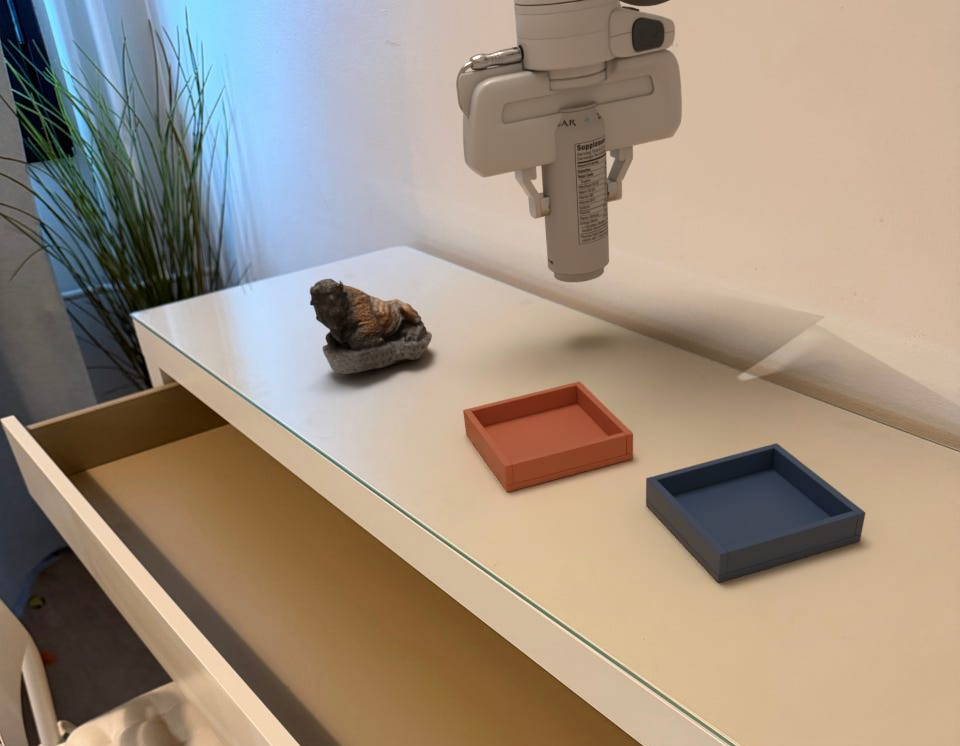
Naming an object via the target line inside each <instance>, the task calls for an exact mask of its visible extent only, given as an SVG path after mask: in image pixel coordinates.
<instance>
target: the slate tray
mask: <svg viewBox="0 0 960 746" xmlns="http://www.w3.org/2000/svg"><path fill="white" fill-rule="evenodd" d="M645 506H647V508H648V509H649V510H650V511H651V512H652V513H653V514H654V515H655V517H657V518H658V519H659V521H661V523H662V524H663V525H664V526H665V527H666V528H667V529H668V530H669V531H670V532H671V533H672V534H673V536H674V537H675V538H676V539H677V540H678V541H679V542H680V543H681V544H682V546H684V547H685V548H686V549H687V551H688V552H689V553H690V554H691V555H692V556H693V557H694V559H696V560H697V562H698V563H699V564H700V565H701V566H702V567H703V568H704V569H705V570H706V571H707V573H709V575H710V576H711V577H713V579H714V580H715V581H716V582H717V583H722V582H726V581H730V580H732V579H737V578H740V577H743V576H746V575H749V574H753V573H757V572H760V571H763V570H766V569H769V568H770V569H771V568H773V567H776V566H780V565H783V564H786V563H790V562H793V561H796V560H800V559H803V558H807V557H810V556H814V555H817V554H820V553H824V552H828V551H830V550H834V549H837V548H841V547H844V546H847V545H848V546H849V545H851V544H854V543H859V542H860V541H861V538H862V533H863V528H864V523H865V517H866V512H865V511H864V509H862V508H861V507H859V506H858V505H857V504H855V503H854V502H853V501H851V500H850V499H849V498H847V497H846V496H845V495H844V494H843V493H841V492H840V491H839V490H837V489H836V488H835V487H834V486H833V485H831V484H830V483H829V482H827V481H826V480H825V479H823V478H822V477H820V475H818V474H817V473H815V471H813V470H812V469H811V468H810V467H808V466H807V465H805V464H804V463H803V462H801V461H800V460H799V459H797V458H796V457H795V456H794V455H793V454H792V453H790V452H789V451H788V450H786V449H785V448H784V447H782V446H781V445H780V444H779V443H776V442H775V443H772V444H768V445H765V446H760V447H757V448H754V449H750V450H745V451H742V452H739V453H735V454H732V455H728V456H723V457H719V458H717V459H716V458H715V459H712V460H708V461H706V462H702V463H698V464H694V465H690V466H687V467H683V468H680V469H675V470H672V471H668V472H664V473H661V474H660V473H659V474H657V475H654V476H653V475H652V476H649V477H646V478H645Z"/></svg>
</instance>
